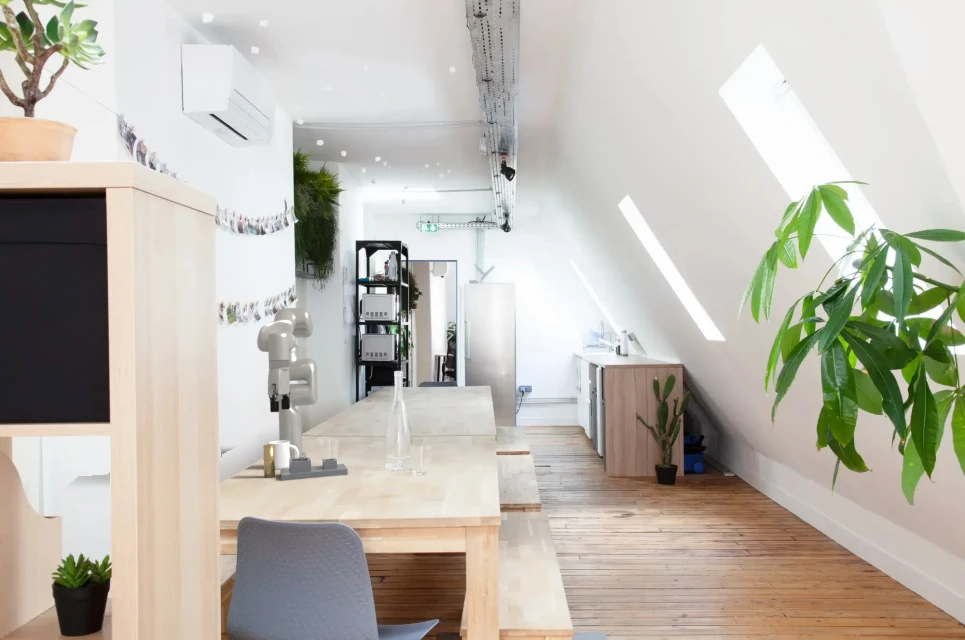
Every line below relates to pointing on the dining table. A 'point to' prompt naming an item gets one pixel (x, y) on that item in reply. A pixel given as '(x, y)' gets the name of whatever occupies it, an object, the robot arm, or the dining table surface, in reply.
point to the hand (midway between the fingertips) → (280, 410)
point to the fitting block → (312, 469)
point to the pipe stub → (269, 461)
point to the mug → (283, 453)
